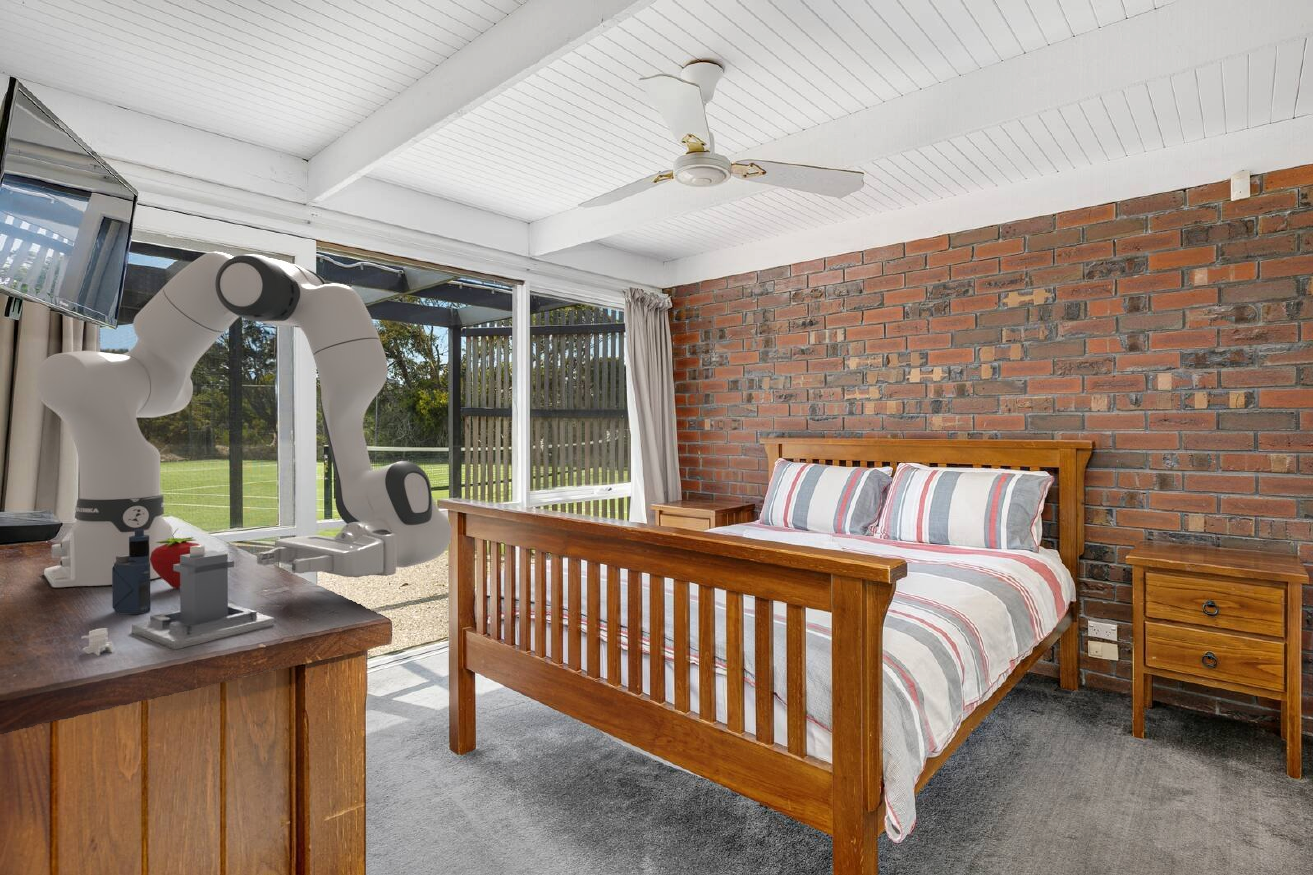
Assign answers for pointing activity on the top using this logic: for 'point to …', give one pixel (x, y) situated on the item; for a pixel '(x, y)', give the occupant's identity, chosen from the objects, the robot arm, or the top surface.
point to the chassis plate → (200, 627)
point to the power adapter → (98, 641)
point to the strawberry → (170, 558)
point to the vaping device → (132, 577)
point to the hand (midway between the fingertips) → (276, 563)
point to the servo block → (203, 585)
